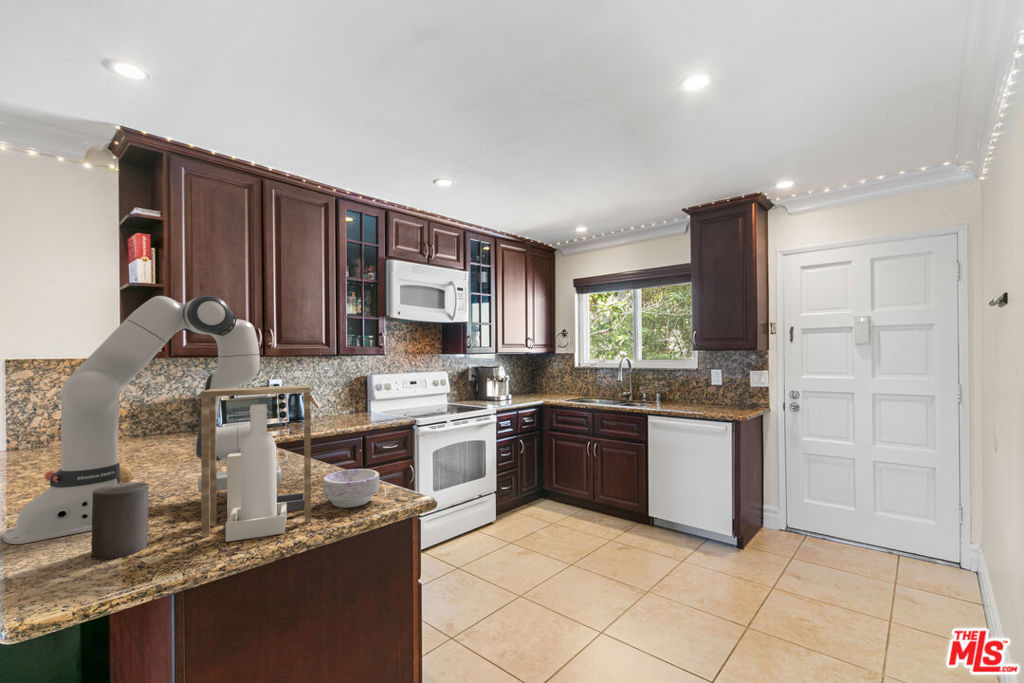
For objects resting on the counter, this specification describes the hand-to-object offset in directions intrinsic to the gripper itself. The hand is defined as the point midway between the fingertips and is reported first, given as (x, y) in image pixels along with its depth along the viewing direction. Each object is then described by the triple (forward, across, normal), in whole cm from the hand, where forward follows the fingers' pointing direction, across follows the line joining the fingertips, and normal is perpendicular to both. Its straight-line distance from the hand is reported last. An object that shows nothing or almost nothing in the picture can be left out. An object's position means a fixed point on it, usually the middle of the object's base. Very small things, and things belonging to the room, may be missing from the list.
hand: (238, 486), depth 128 cm
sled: (+10, +5, +7) cm, 14 cm away
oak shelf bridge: (+10, +6, +7) cm, 14 cm away
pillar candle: (+16, -21, +8) cm, 27 cm away
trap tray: (-1, +10, +8) cm, 12 cm away
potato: (-44, -40, +8) cm, 60 cm away
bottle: (+14, +6, +8) cm, 17 cm away
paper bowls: (+3, +28, +8) cm, 30 cm away
